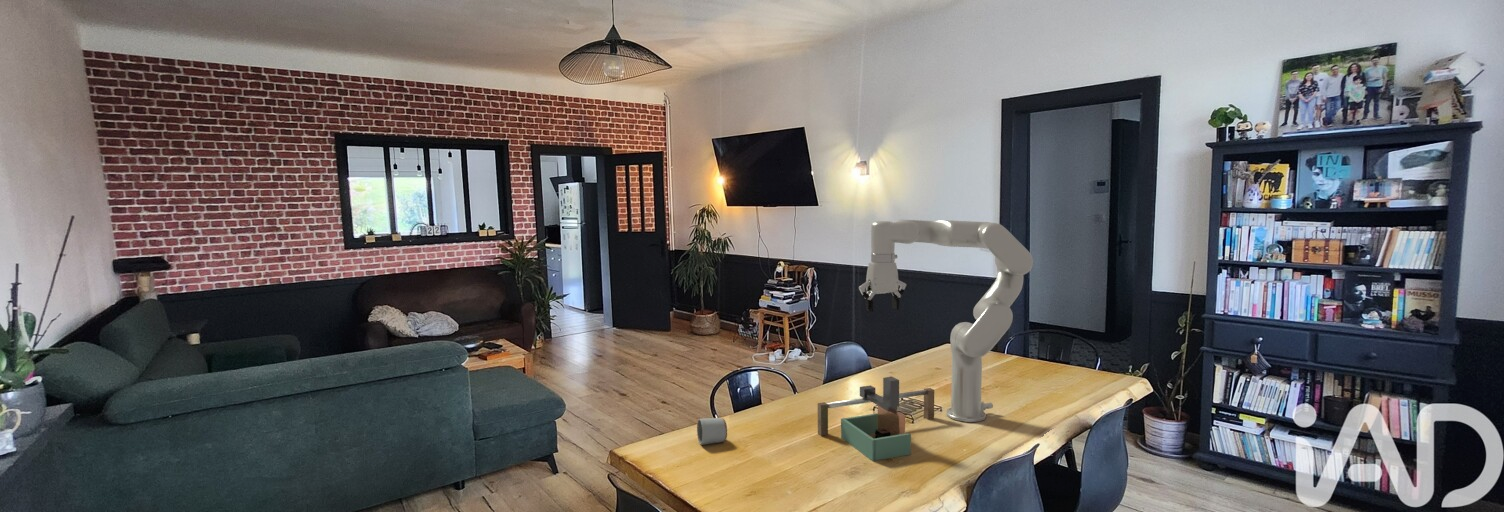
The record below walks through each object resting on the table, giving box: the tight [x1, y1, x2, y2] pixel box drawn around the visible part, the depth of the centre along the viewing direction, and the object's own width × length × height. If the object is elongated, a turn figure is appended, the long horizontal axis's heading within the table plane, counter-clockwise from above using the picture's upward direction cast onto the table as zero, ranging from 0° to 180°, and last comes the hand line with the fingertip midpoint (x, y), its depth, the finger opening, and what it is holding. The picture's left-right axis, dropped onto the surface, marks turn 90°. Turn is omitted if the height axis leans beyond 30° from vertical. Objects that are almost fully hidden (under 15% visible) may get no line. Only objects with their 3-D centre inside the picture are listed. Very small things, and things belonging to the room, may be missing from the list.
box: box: [840, 412, 912, 462], centre depth 191 cm, size 12×19×6 cm, turn 19°
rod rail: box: [817, 387, 935, 437], centre depth 207 cm, size 41×2×10 cm, turn 109°
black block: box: [872, 428, 891, 439], centre depth 192 cm, size 12×7×5 cm, turn 21°
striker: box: [859, 376, 906, 436], centre depth 196 cm, size 4×22×18 cm, turn 19°
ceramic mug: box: [696, 417, 728, 446], centre depth 197 cm, size 11×8×8 cm
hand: (882, 310), depth 212 cm, fingers open, 9 cm apart
